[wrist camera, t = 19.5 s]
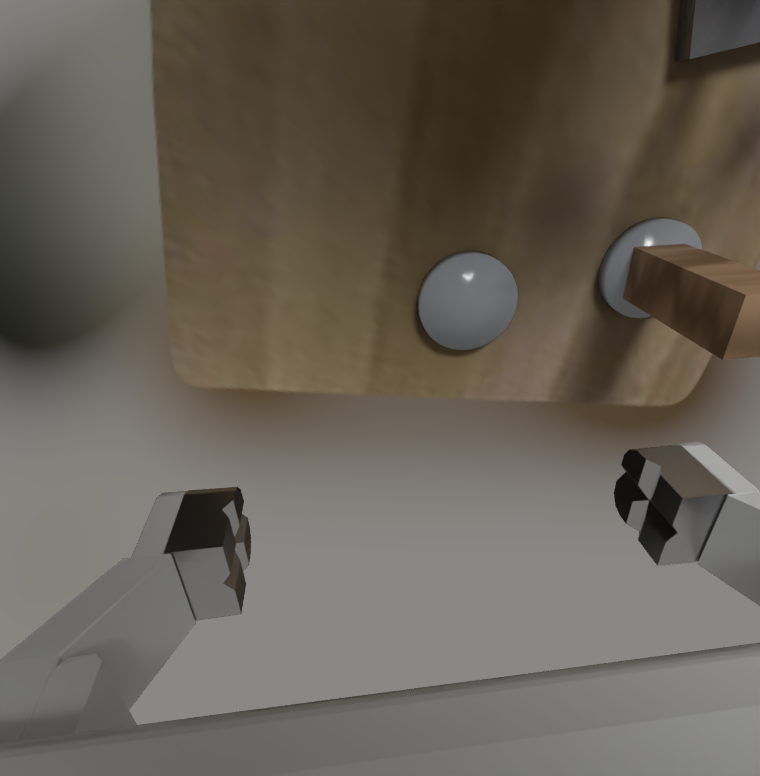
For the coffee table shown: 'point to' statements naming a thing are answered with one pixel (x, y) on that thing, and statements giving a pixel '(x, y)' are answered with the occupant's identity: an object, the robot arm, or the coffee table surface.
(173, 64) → the coffee table surface
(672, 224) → the grey flat pebble
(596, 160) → the coffee table surface
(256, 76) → the coffee table surface
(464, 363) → the coffee table surface
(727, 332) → the pillar
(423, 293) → the grey oval dome
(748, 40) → the balance
